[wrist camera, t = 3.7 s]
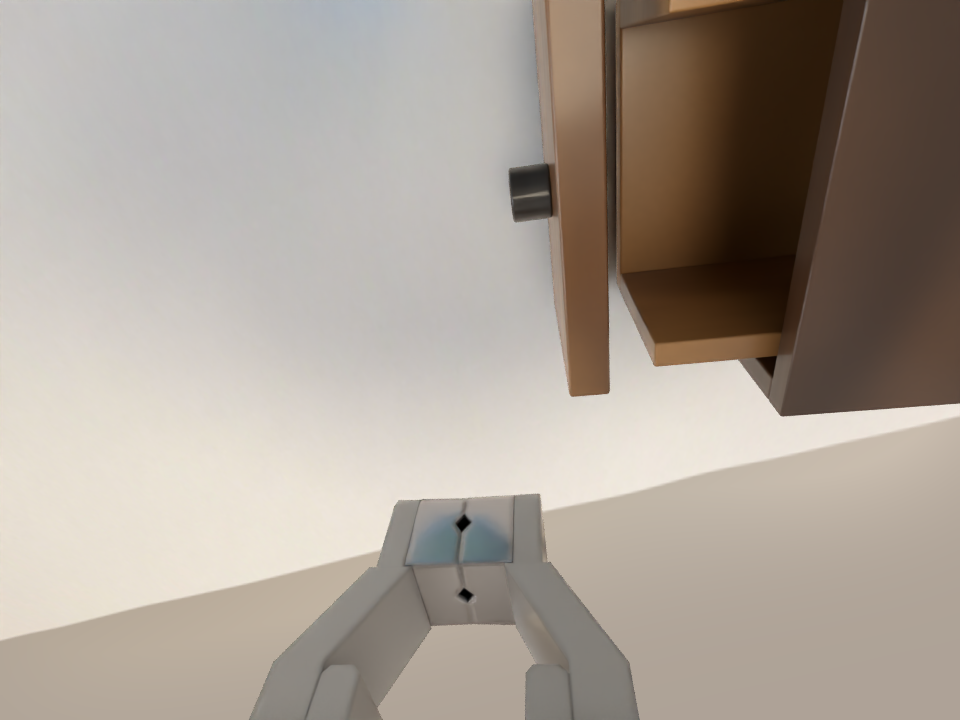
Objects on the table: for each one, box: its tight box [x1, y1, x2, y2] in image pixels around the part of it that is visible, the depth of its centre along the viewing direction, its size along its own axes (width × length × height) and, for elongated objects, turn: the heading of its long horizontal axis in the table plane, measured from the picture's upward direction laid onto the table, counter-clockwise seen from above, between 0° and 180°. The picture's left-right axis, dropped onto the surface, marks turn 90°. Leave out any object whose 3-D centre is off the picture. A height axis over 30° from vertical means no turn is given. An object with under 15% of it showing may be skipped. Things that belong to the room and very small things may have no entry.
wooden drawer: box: [509, 0, 844, 397], centre depth 14 cm, size 14×11×7 cm
